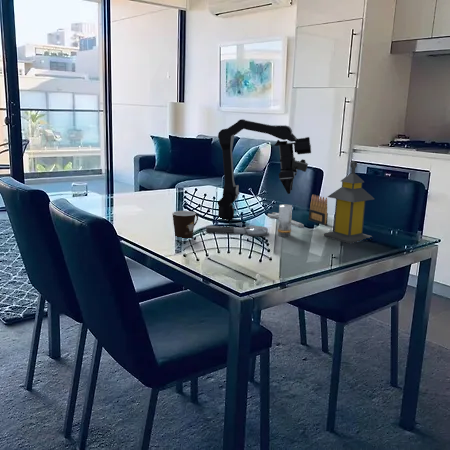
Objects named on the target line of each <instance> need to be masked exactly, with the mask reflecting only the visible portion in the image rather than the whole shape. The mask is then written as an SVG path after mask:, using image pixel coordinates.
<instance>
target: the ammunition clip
mask: <svg viewBox="0 0 450 450" xmlns="http://www.w3.org/2000/svg"><path fill="white" fill-rule="evenodd" d="M310 199H311V201H310V204H309V205H310V206H309V209H308V221H311V222H312V223H316V224H319V225H322V226H327V225H328V218H329V217H328V215H329V214H328V197H325V196H323V197H322V196H319V195H316V194H312V195H311V198H310Z"/></svg>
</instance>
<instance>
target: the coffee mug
mask: <svg viewBox="0 0 450 450" xmlns="http://www.w3.org/2000/svg"><path fill="white" fill-rule="evenodd" d="M198 216H199V215H198V214H197V213H196V212H194V211H190V210H177V211H173V212H172V221H173V229H174V237H175V236H177V237H182V238H192V237H194V228H195V226H196V225H197V223H198V220H199V217H198ZM192 239H193V238H192Z"/></svg>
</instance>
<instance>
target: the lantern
mask: <svg viewBox="0 0 450 450" xmlns="http://www.w3.org/2000/svg"><path fill="white" fill-rule="evenodd" d="M350 168H351V170H350V171H351V173H349V174H347V175H346V176H345V177H344V178H342V179H341V180H340V182H341V187H339V188H338V189H337V190H335V191H334V192H332V193H331V194H329V195H328V196H327V198H331V199H335V206H334V207H335V208H334V220H333V221H334V222H333V231H329V232H328V231H327V232H324V233H323V237H325V238H329V239H332V240H334V241H339V242H342V243H345V242H346V243H345V244H349V243H353V242H357V241H360V240H363V239H366V238H370V237H372V238H373V236H372V235H369V234H366V233H363V231H364V221H365V213H366V212H365V211H366V202H367V201H373V200H375V198H374V197H373V195H371V194H370V193H369V192H367V190H365V189H364V188H363V183H365V181H364V180H363V179H362V178H361V177H360V176H359V175H358V174H356V169H357V168H358V162H357V161H355V160H353V161H351V162H350ZM357 243H358V242H357ZM353 244H354V243H353Z"/></svg>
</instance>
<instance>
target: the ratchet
mask: <svg viewBox="0 0 450 450" xmlns="http://www.w3.org/2000/svg"><path fill="white" fill-rule="evenodd" d="M205 230H206V231H205V232H208V233H211V234H235V235H236V234H237V235H246V236H250V237H264V236H265V237H266V236H267V235H268V233H269V230H268V227H266V226H261V225H249V226H243V227H236V226H226V225H225V226H222V225H221V226H220V225H206V227H205Z"/></svg>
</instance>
